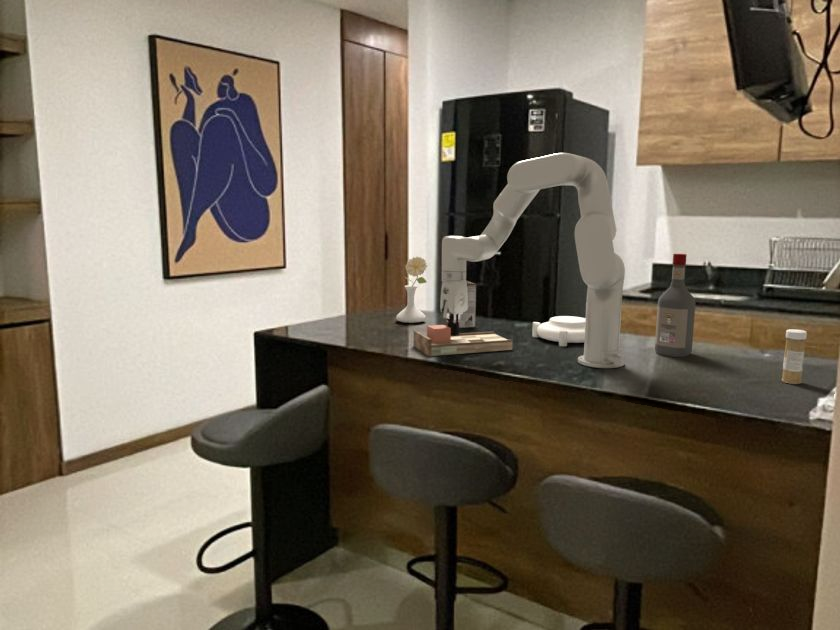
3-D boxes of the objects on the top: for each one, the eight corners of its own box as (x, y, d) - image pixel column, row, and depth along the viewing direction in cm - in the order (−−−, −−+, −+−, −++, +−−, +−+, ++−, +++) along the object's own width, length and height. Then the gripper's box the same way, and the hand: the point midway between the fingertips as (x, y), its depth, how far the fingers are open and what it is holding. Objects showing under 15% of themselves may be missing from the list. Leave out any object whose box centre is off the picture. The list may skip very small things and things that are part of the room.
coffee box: (450, 323, 247) (451, 280, 244) (466, 322, 249) (467, 280, 246) (459, 328, 239) (459, 283, 236) (475, 327, 241) (476, 283, 238)
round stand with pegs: (524, 344, 213) (525, 322, 212) (539, 331, 235) (540, 311, 234) (601, 350, 205) (602, 328, 204) (608, 336, 227) (610, 315, 226)
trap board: (512, 349, 204) (512, 333, 203) (428, 356, 195) (428, 339, 194) (493, 340, 217) (493, 325, 216) (413, 346, 208) (413, 330, 207)
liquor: (681, 358, 193) (689, 255, 188) (651, 353, 199) (658, 254, 194) (694, 353, 200) (701, 254, 195) (664, 348, 206) (671, 252, 201)
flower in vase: (389, 322, 249) (389, 256, 244) (408, 318, 258) (408, 254, 253) (417, 326, 241) (417, 258, 237) (435, 322, 250) (436, 256, 245)
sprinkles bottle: (784, 378, 171) (789, 328, 169) (803, 382, 168) (809, 330, 166) (778, 382, 168) (783, 330, 166) (798, 385, 165) (804, 332, 163)
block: (450, 342, 203) (450, 327, 202) (434, 343, 201) (434, 329, 200) (442, 338, 208) (443, 324, 207) (426, 340, 206) (427, 325, 205)
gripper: (452, 279, 195) (451, 340, 198) (475, 274, 207) (474, 332, 210) (430, 277, 199) (430, 337, 202) (454, 273, 211) (454, 329, 214)
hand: (453, 334), depth 206 cm, fingers closed
